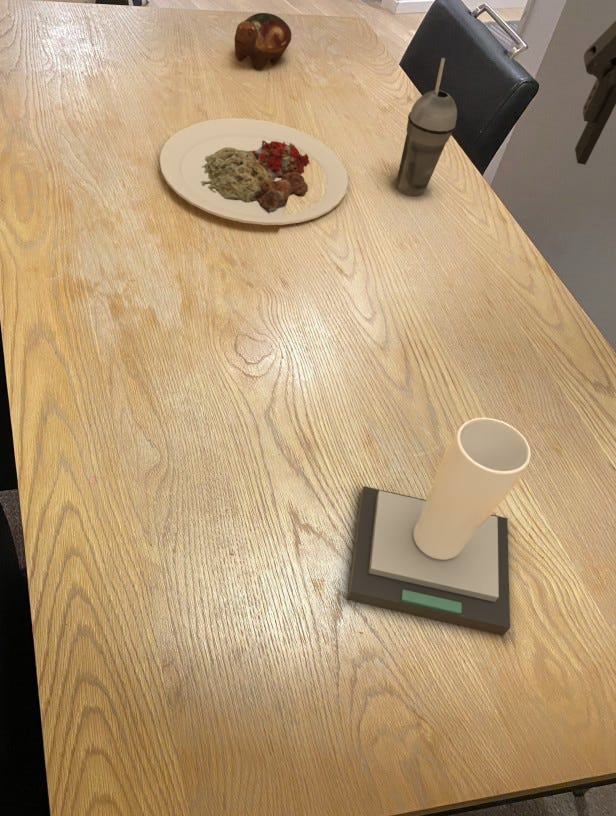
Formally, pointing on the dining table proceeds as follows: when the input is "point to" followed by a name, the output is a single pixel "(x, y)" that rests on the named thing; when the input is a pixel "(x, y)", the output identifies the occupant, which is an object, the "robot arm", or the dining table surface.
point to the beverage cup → (425, 138)
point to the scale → (428, 567)
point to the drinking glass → (470, 485)
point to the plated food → (249, 170)
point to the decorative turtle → (262, 39)
